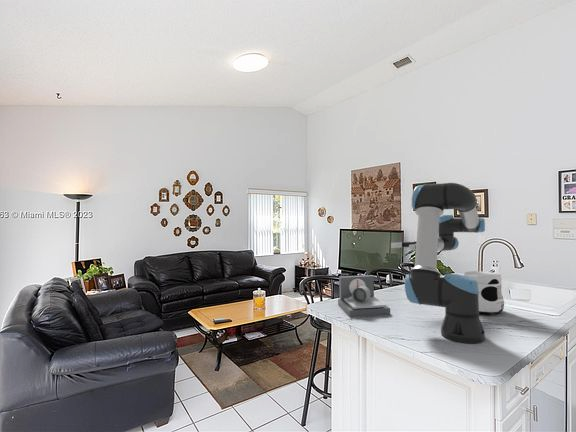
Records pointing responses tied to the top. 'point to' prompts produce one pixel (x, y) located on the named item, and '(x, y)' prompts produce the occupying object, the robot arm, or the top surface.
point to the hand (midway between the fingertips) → (400, 246)
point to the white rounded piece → (488, 291)
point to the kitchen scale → (360, 309)
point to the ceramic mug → (360, 294)
